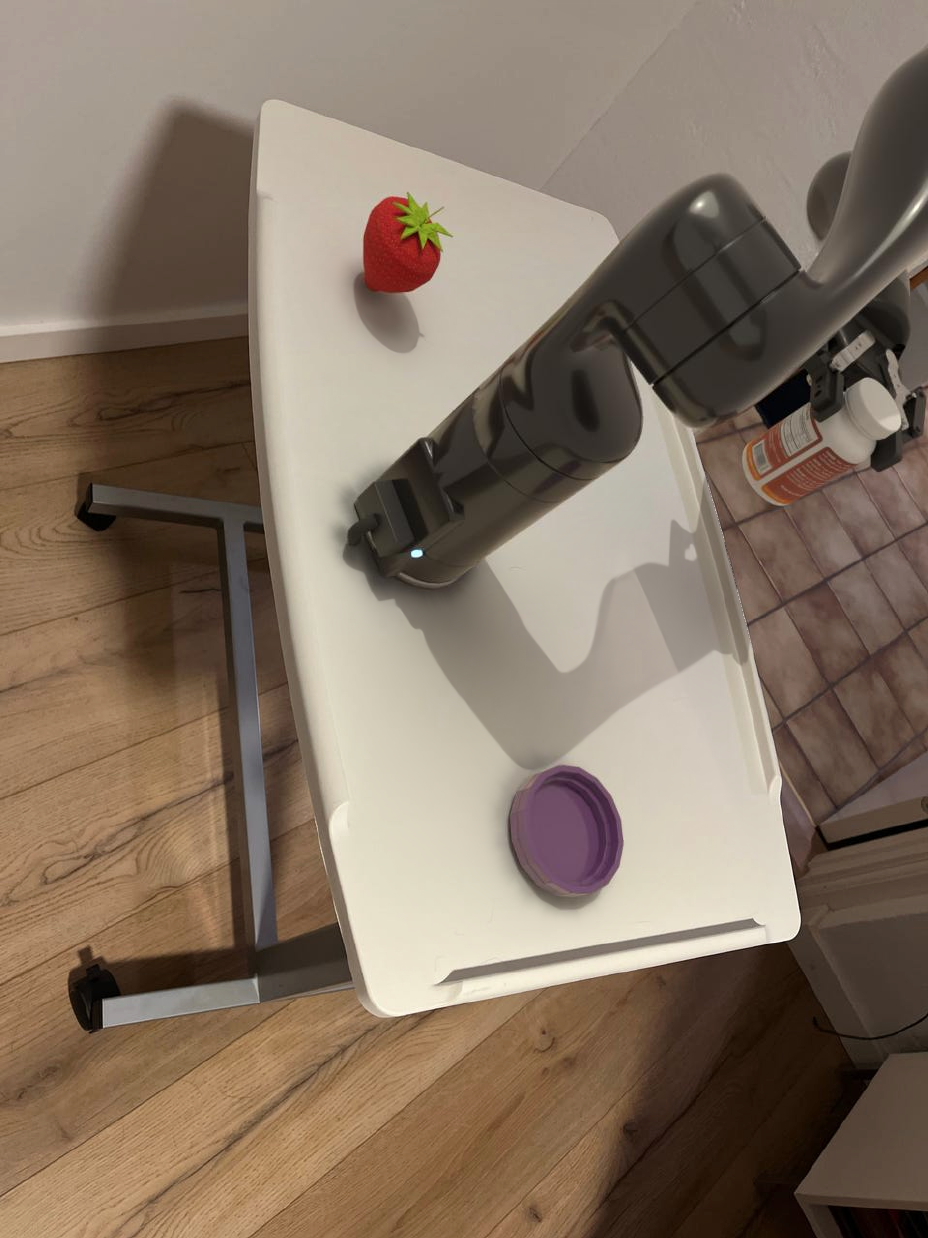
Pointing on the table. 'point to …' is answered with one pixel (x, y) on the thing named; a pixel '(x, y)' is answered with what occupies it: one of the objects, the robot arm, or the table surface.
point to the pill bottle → (819, 444)
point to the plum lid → (566, 831)
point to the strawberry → (400, 246)
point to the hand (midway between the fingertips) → (856, 439)
